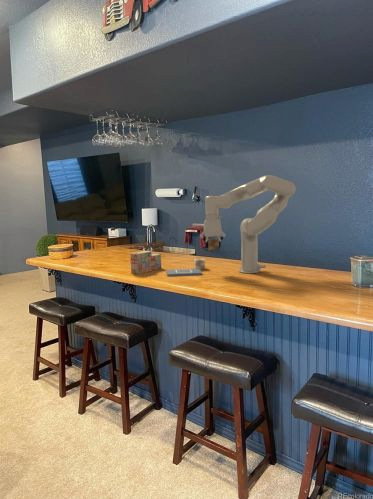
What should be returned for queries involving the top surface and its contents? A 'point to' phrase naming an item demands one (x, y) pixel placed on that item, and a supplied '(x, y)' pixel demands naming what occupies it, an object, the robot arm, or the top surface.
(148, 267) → the stack of blocks
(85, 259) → the top surface
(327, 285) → the top surface
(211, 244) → the walnut cube
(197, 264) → the maple cube
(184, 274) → the board
